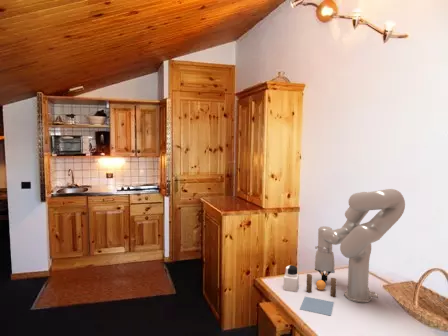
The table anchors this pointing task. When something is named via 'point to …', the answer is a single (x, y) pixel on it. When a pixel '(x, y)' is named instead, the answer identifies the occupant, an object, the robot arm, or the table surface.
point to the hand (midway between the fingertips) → (324, 281)
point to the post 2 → (333, 287)
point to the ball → (320, 284)
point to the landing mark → (317, 306)
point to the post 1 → (309, 283)
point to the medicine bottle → (291, 279)
